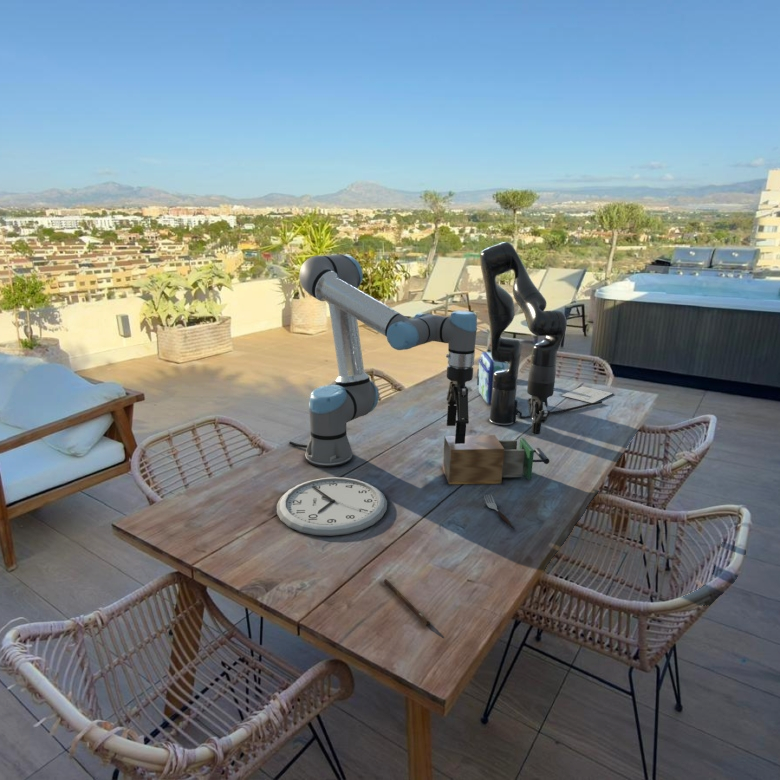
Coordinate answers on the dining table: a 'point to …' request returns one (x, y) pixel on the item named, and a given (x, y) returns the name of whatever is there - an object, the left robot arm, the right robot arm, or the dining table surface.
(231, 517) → the dining table surface
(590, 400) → the invitation card
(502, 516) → the fork
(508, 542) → the dining table surface
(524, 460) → the drawer
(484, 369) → the lunch box
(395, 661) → the dining table surface
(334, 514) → the wall clock
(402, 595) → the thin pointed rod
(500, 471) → the open wooden box
